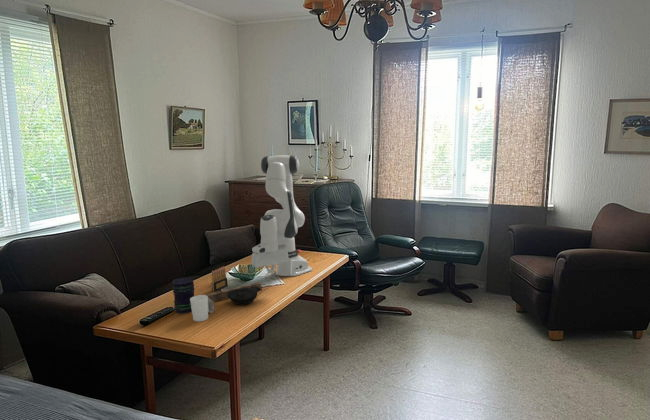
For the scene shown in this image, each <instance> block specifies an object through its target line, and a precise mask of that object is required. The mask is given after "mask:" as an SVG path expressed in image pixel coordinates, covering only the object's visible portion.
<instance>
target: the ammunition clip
mask: <svg viewBox="0 0 650 420" xmlns="http://www.w3.org/2000/svg"><path fill="white" fill-rule="evenodd" d="M226 272H227V271H226V267H225V265H223V266H220V267H219V268H216V269H214V270H213V269H212V271H211V293H216V292H219V291H221V290H222V289H223V290H224V289H225V288H226V287H228V286H229V285H228V278H227V273H226Z"/></svg>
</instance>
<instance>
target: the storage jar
mask: <svg viewBox="0 0 650 420" xmlns="http://www.w3.org/2000/svg"><path fill="white" fill-rule="evenodd" d="M194 282H195V281H194V278H193V277H187V276H186V277H179V278H176V279H173V280H172V293H173V296H174V300H173V303H174V304H173V305H174V306H173V307H174V310H175V311H174V312H175V313H176V314H178V313H179V314H180V315H181V314H182V315H183V314H189V313H192V310H191V303H190V298H192V297H194V296H195V283H194Z"/></svg>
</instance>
